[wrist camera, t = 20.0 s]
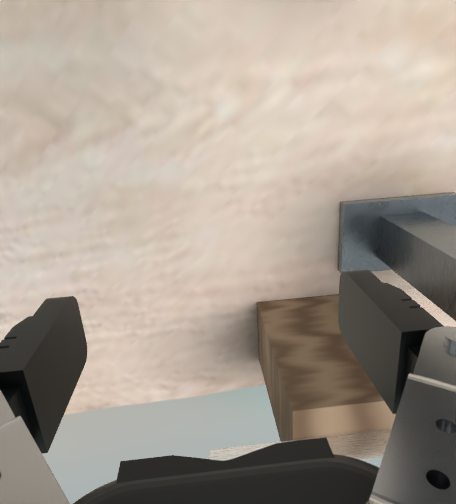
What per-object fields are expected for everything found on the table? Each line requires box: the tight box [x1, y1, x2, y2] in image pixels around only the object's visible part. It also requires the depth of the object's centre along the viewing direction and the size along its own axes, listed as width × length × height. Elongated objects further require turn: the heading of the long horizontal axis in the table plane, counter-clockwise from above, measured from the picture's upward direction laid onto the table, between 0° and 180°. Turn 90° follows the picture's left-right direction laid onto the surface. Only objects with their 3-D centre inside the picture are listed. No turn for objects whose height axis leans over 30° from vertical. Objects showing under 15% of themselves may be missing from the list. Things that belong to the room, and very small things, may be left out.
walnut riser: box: [257, 294, 396, 442], centre depth 49 cm, size 14×10×22 cm
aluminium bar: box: [209, 428, 392, 468], centre depth 37 cm, size 26×3×3 cm, turn 94°
